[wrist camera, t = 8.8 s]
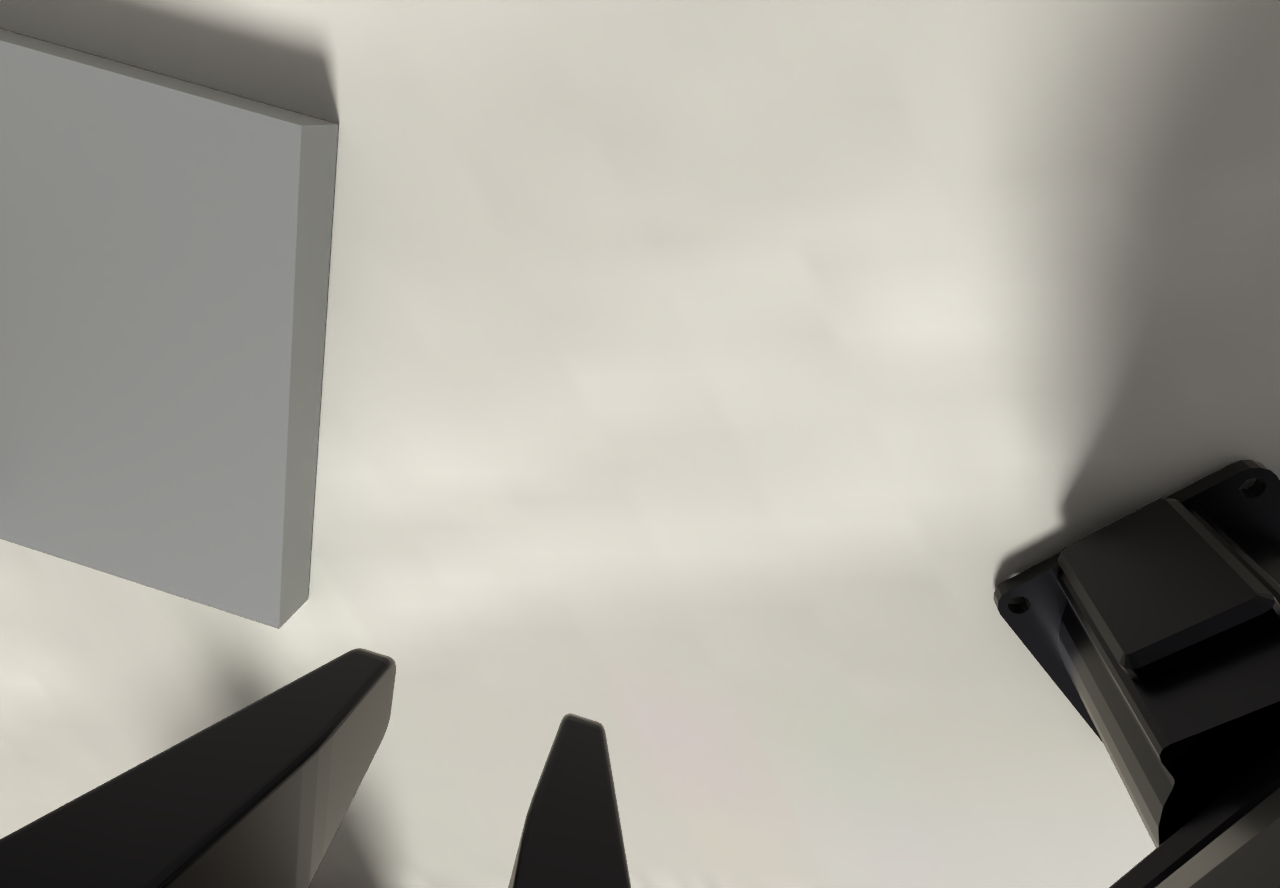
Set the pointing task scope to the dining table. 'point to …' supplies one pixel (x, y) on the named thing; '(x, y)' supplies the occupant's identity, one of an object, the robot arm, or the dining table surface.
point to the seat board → (161, 327)
